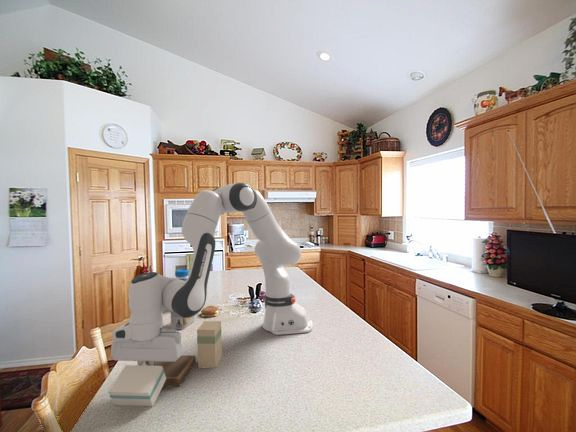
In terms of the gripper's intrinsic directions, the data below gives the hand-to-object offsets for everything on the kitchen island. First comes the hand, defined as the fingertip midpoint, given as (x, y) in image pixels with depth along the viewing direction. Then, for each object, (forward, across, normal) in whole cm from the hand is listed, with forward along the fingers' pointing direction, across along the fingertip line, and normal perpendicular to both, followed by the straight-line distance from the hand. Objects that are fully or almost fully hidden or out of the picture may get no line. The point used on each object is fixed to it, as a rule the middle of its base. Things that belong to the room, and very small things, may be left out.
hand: (147, 373), depth 84 cm
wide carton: (+3, 0, +4) cm, 5 cm away
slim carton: (+4, -14, -14) cm, 20 cm away
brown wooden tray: (+4, -1, -7) cm, 8 cm away
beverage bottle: (+4, +19, -67) cm, 70 cm away
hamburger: (+5, 0, -59) cm, 59 cm away
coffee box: (+4, +9, -44) cm, 45 cm away
